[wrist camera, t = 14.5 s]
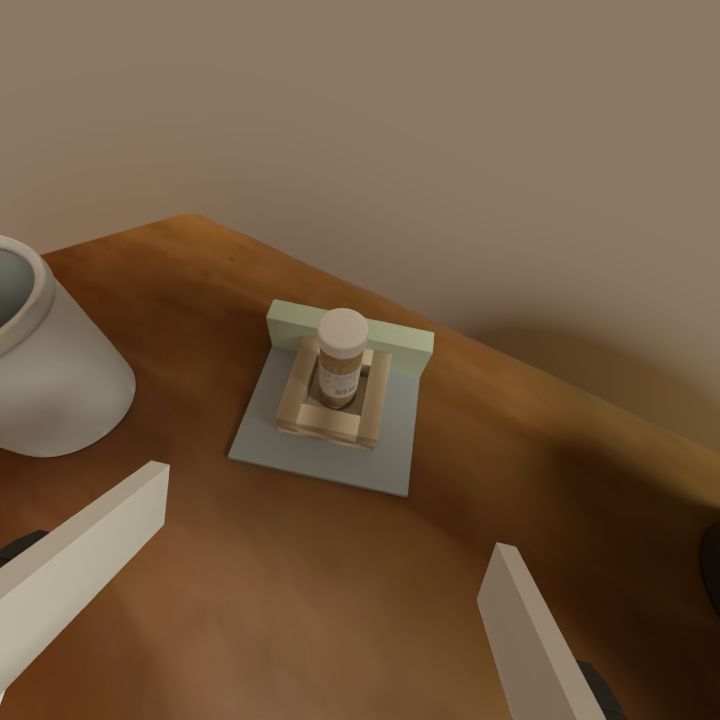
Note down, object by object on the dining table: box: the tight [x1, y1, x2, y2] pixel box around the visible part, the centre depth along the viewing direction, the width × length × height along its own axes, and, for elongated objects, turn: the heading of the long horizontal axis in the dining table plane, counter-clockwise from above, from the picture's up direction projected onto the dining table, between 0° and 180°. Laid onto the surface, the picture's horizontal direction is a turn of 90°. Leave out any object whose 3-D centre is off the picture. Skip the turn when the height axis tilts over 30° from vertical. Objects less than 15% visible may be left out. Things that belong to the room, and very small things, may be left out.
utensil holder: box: [0, 235, 136, 457], centre depth 31 cm, size 15×15×18 cm
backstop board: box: [228, 299, 434, 498], centre depth 39 cm, size 20×18×7 cm
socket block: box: [275, 336, 392, 451], centre depth 39 cm, size 11×11×4 cm
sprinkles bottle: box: [317, 308, 369, 410], centre depth 34 cm, size 5×5×14 cm
